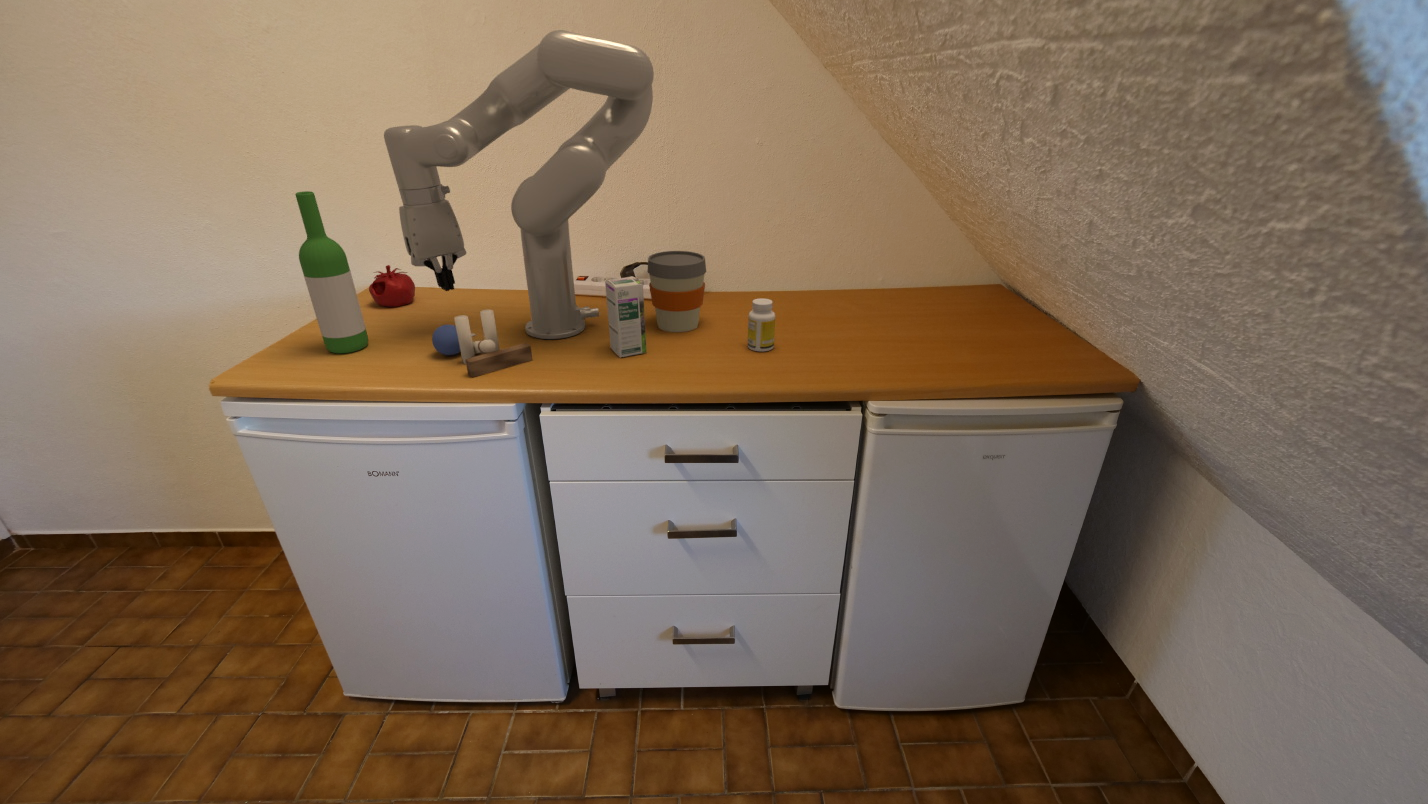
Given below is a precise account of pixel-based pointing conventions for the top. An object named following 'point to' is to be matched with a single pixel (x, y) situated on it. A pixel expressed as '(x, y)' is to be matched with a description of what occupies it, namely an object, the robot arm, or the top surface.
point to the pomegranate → (392, 288)
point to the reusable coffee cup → (677, 288)
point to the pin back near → (489, 327)
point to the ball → (446, 340)
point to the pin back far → (464, 337)
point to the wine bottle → (329, 283)
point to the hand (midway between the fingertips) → (447, 288)
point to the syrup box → (626, 316)
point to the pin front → (483, 346)
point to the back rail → (498, 359)
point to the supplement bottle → (761, 325)
